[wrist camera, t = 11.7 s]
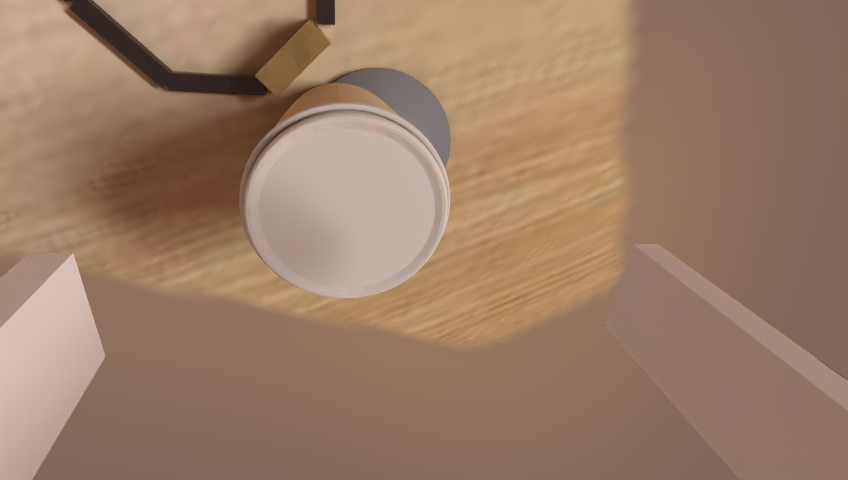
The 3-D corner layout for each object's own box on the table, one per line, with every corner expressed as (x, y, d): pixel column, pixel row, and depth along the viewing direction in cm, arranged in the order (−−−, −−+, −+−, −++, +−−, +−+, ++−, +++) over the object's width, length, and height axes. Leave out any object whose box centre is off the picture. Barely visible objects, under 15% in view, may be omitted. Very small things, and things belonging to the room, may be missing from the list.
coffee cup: (377, 222, 33) (402, 323, 22) (249, 178, 29) (209, 273, 19) (432, 106, 30) (491, 160, 19) (295, 40, 26) (276, 64, 16)
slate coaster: (307, 209, 32) (307, 212, 31) (302, 62, 27) (301, 63, 27) (440, 209, 34) (442, 212, 33) (456, 73, 29) (458, 74, 29)
